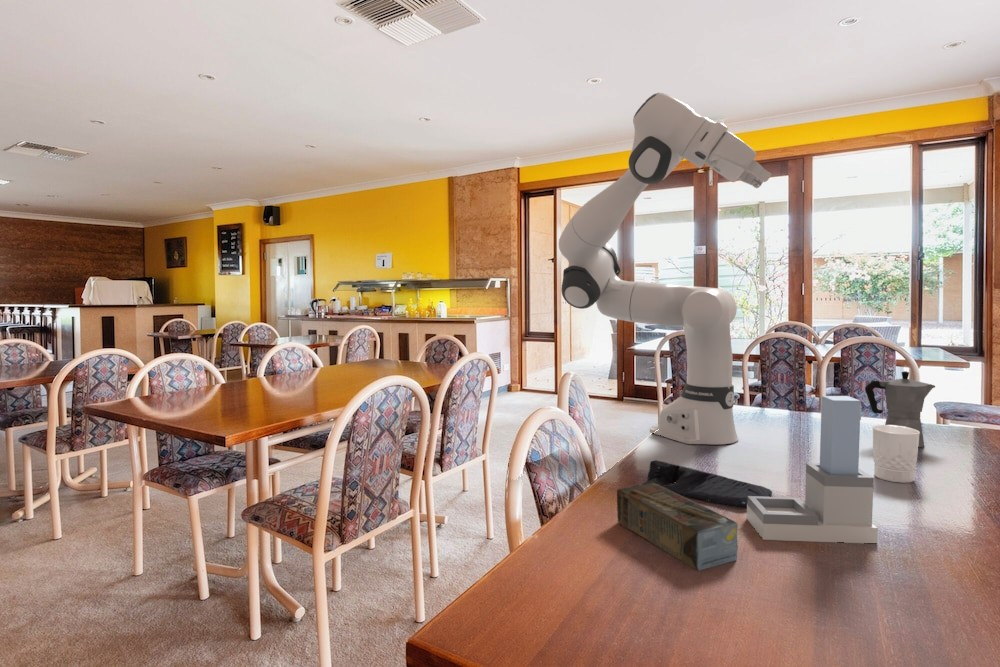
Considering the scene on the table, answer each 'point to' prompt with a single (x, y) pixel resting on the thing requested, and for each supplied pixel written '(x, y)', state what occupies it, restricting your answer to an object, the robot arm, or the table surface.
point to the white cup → (895, 452)
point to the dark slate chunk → (703, 484)
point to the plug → (840, 435)
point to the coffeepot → (901, 401)
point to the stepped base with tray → (819, 510)
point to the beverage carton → (678, 525)
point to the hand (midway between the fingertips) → (764, 182)
